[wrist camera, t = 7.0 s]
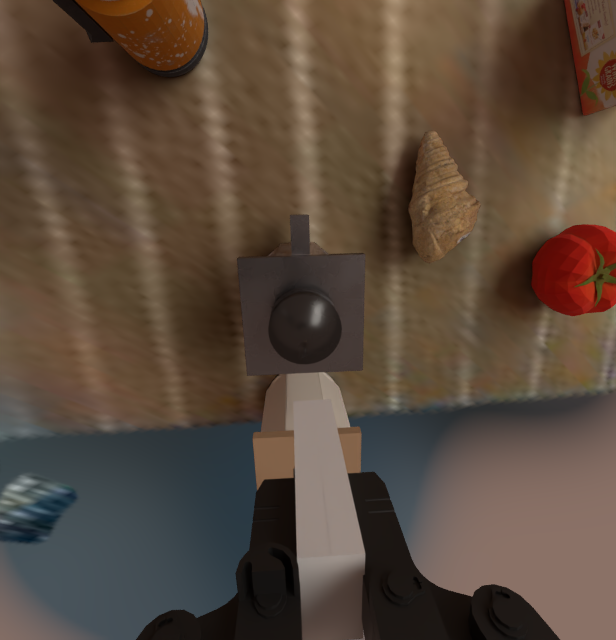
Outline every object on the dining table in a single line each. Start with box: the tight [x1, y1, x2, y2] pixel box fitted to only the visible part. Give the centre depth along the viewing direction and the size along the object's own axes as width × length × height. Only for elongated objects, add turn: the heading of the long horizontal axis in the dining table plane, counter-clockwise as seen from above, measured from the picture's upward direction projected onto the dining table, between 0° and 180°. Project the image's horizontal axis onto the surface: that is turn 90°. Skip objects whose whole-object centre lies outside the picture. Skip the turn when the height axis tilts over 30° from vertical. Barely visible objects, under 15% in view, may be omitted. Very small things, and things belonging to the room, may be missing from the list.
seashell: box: [408, 131, 480, 263], centre depth 39 cm, size 14×8×8 cm, turn 18°
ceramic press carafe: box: [253, 372, 361, 490], centre depth 43 cm, size 10×14×16 cm
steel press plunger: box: [268, 288, 342, 364], centre depth 34 cm, size 7×7×16 cm
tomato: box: [531, 224, 616, 316], centre depth 42 cm, size 11×11×9 cm
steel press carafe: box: [237, 215, 365, 376], centre depth 37 cm, size 10×14×16 cm
